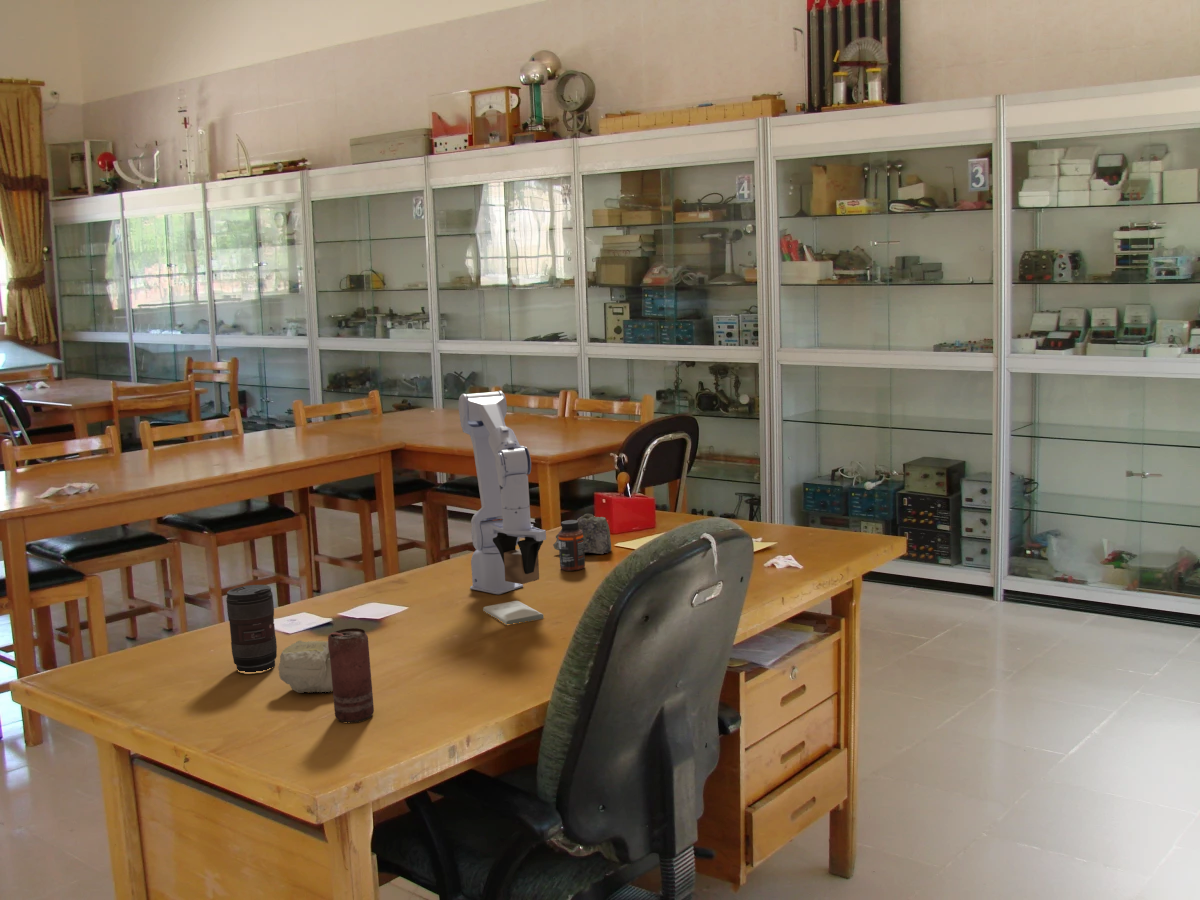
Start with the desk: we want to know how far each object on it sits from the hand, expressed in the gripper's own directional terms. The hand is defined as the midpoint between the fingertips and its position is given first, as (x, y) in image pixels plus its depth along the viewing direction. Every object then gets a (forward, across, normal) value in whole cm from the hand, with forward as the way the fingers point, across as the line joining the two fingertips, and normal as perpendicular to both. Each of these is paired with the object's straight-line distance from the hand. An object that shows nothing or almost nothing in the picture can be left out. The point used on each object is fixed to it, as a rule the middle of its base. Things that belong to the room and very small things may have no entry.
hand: (519, 571), depth 238 cm
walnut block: (+2, 0, 0) cm, 2 cm away
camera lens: (+9, +16, +53) cm, 56 cm away
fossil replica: (+9, -3, +53) cm, 54 cm away
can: (+9, -19, +57) cm, 61 cm away
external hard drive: (+9, 0, +3) cm, 10 cm away
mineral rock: (+9, +22, -45) cm, 51 cm away
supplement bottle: (+9, +14, -31) cm, 36 cm away
